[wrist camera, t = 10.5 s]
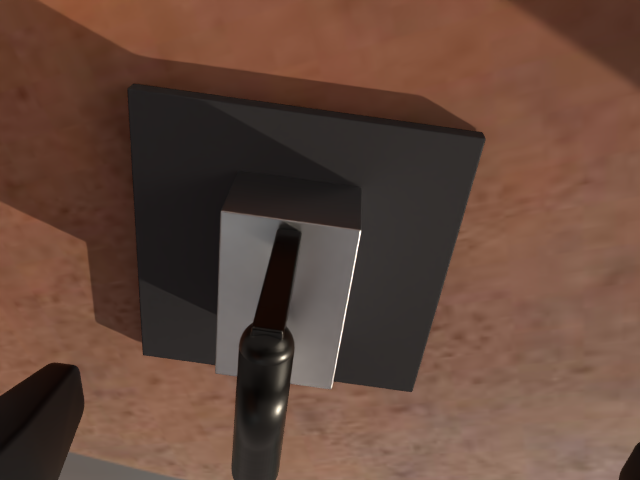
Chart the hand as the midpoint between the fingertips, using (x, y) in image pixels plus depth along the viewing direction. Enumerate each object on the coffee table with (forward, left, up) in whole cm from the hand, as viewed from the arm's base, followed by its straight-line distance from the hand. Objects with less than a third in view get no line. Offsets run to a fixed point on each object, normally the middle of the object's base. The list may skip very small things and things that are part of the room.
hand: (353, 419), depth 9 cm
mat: (-5, +2, -13) cm, 14 cm away
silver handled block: (-5, +2, -12) cm, 13 cm away
